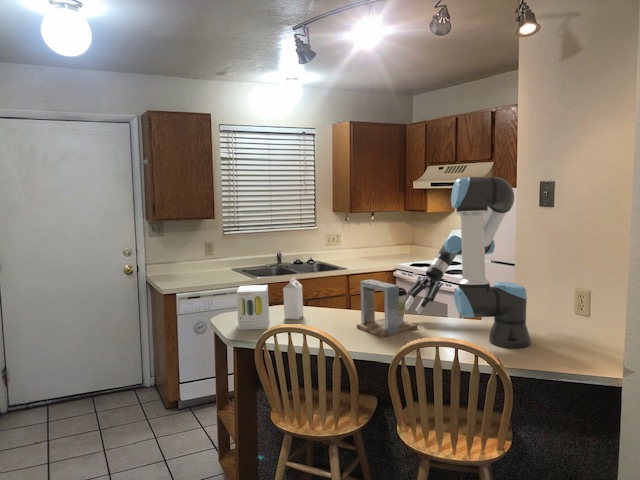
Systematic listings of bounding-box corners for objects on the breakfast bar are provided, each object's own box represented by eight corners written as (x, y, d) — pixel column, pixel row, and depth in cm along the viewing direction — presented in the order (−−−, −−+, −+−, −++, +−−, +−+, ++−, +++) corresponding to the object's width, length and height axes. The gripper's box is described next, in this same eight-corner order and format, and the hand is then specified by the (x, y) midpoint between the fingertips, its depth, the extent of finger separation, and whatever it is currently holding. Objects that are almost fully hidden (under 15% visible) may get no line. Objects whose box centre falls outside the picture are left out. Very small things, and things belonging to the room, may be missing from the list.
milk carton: (284, 319, 241) (282, 279, 239) (289, 315, 248) (288, 276, 245) (298, 319, 239) (297, 280, 237) (303, 315, 246) (302, 277, 243)
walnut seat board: (417, 328, 220) (417, 325, 220) (381, 337, 209) (381, 333, 209) (391, 319, 234) (391, 316, 234) (356, 327, 223) (356, 324, 223)
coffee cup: (381, 324, 222) (380, 290, 220) (389, 318, 231) (388, 286, 229) (403, 326, 218) (402, 292, 216) (410, 320, 226) (409, 287, 225)
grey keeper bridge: (399, 333, 214) (398, 285, 211) (388, 336, 210) (387, 287, 208) (371, 324, 229) (371, 279, 226) (361, 326, 225) (360, 281, 223)
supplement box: (237, 330, 225) (235, 291, 223) (241, 322, 238) (239, 285, 236) (267, 329, 226) (266, 290, 224) (269, 320, 239) (268, 284, 237)
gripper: (457, 278, 229) (431, 319, 222) (425, 272, 246) (400, 310, 239) (449, 268, 225) (422, 310, 219) (417, 262, 242) (391, 301, 235)
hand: (411, 310), depth 229 cm, fingers open, 7 cm apart
